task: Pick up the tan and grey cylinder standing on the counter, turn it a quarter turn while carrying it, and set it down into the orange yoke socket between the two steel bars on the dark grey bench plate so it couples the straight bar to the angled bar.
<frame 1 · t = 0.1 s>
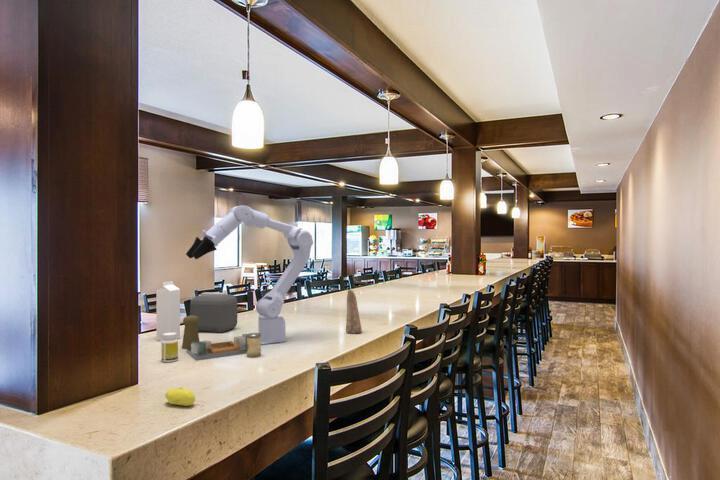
hand: (190, 256, 155), 32 cm above the countertop, tool tilted 50°, fingers open, 7 cm apart
milk: (168, 339, 175), on the countertop
brown tapered stone: (353, 333, 187), on the countertop
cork: (191, 347, 162), on the countertop
tan and grey cylinder: (253, 355, 150), on the countertop
supplement bottle: (169, 361, 144), on the countertop
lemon: (180, 405, 106), on the countertop
dark grey rounded block: (212, 330, 192), on the countertop
bench plate: (222, 351, 155), on the countertop
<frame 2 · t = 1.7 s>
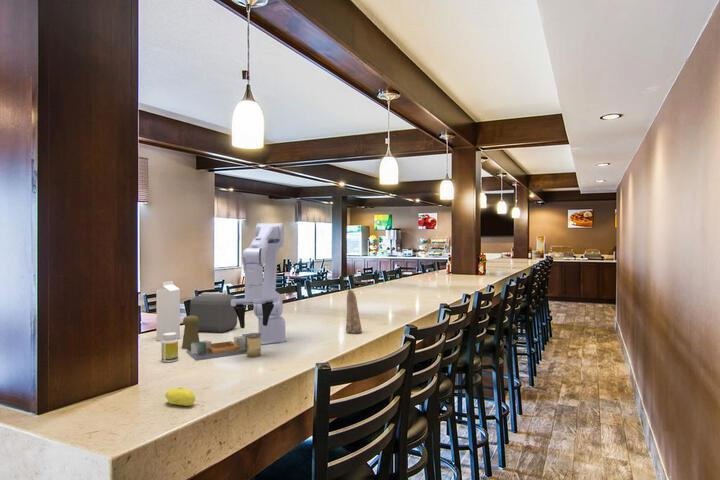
hand: (253, 326, 150), 9 cm above the countertop, tool pointing down, fingers open, 7 cm apart
nothing on the countertop moved.
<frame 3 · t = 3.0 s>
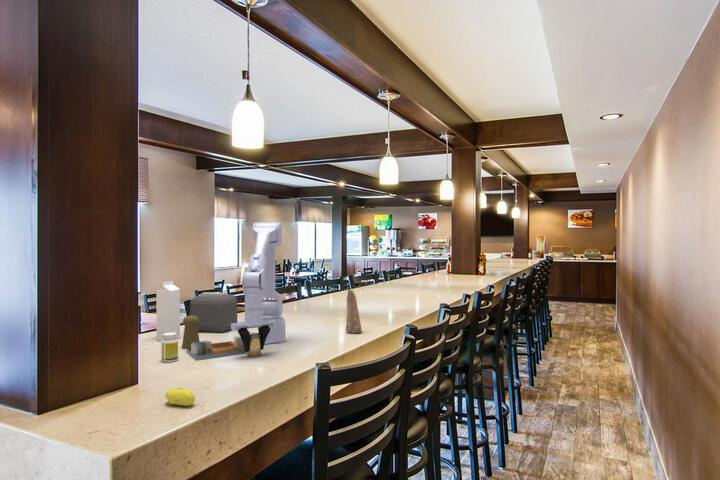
hand: (253, 350, 150), 2 cm above the countertop, tool pointing down, fingers closed on tan and grey cylinder, 4 cm apart
tan and grey cylinder: (253, 355, 150), on the countertop, touching gripper
everything else where it was.
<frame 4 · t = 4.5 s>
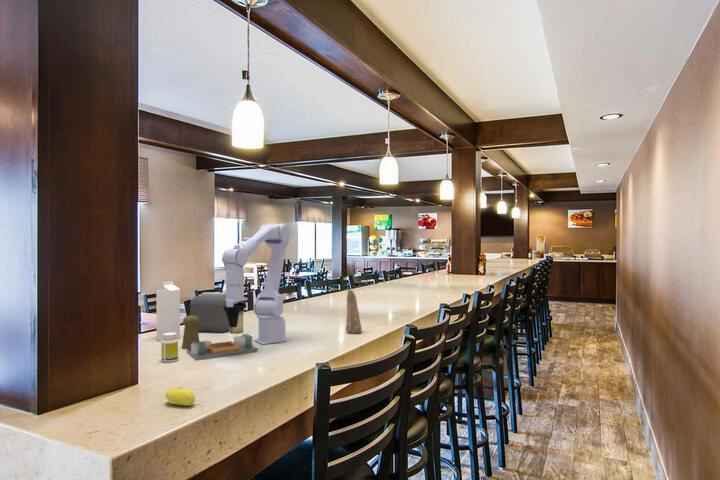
hand: (235, 325, 153), 9 cm above the countertop, tool pointing down, fingers closed on tan and grey cylinder, 4 cm apart
tan and grey cylinder: (236, 332, 153), point 7 cm above the countertop, touching gripper
everything else where it was.
when the fingers open (4 cm above the countertop, at t = 6.3 s): tan and grey cylinder stays where it is, resting on bench plate.
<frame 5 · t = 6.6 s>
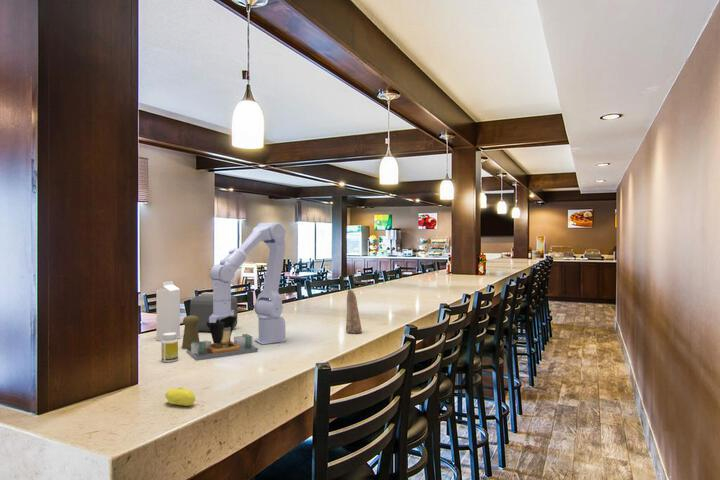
hand: (222, 340, 155), 4 cm above the countertop, tool pointing down, fingers open, 7 cm apart
tan and grey cylinder: (223, 348, 155), point 1 cm above the countertop, touching bench plate
everything else where it was.
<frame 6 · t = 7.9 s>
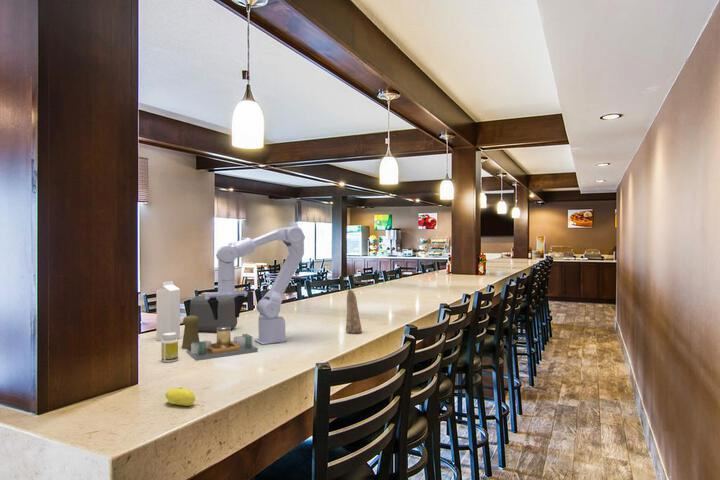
hand: (226, 318, 164), 10 cm above the countertop, tool pointing down, fingers open, 7 cm apart
nothing on the countertop moved.
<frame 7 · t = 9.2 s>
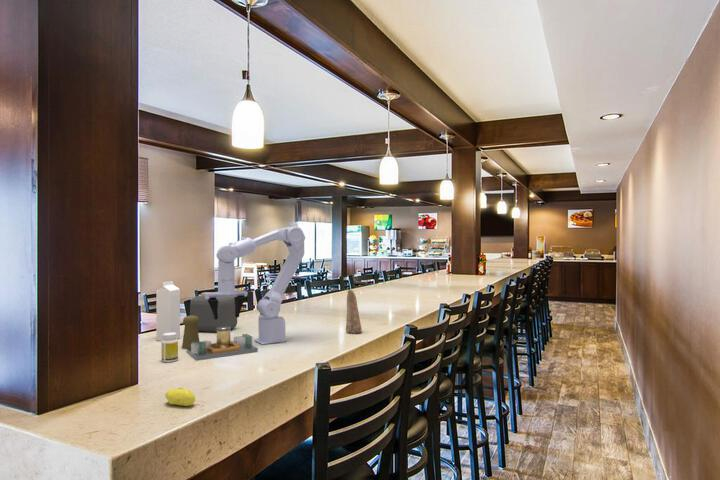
hand: (226, 317, 164), 10 cm above the countertop, tool pointing down, fingers open, 7 cm apart
nothing on the countertop moved.
at the end: tan and grey cylinder 0.6 cm off-centre on the bench plate, point 1.2 cm above the bench plate's base; tan and grey cylinder tilted 0°; the gripper is holding nothing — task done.
